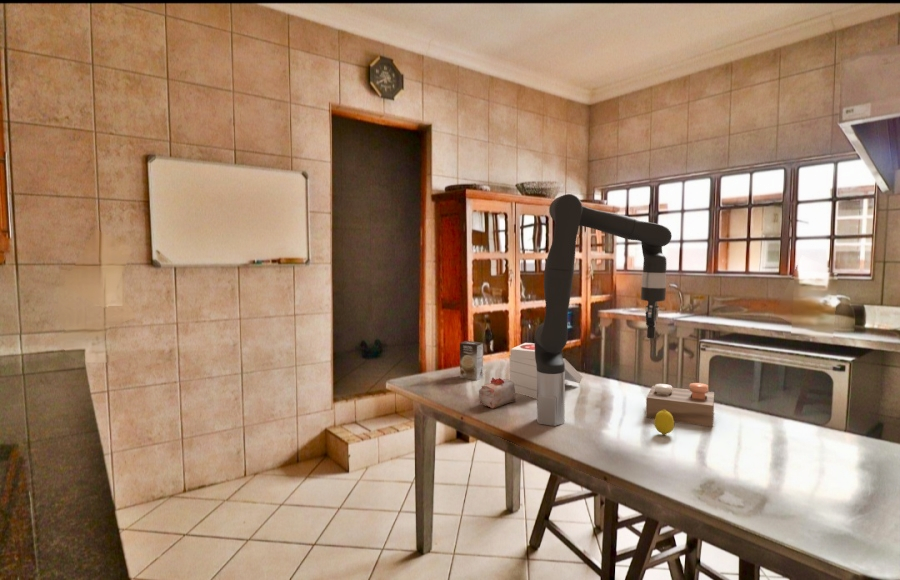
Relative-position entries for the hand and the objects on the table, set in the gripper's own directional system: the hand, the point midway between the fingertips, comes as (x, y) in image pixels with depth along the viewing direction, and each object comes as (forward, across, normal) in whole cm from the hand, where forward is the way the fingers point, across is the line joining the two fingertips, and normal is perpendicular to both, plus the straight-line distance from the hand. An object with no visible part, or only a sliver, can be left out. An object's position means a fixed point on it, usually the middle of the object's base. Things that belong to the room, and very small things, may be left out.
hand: (650, 337), depth 167 cm
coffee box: (+30, +22, +77) cm, 86 cm away
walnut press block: (+27, +8, -10) cm, 30 cm away
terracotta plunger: (+24, +8, -15) cm, 30 cm away
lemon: (+28, -14, -7) cm, 32 cm away
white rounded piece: (+26, +8, -4) cm, 28 cm away
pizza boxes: (+29, +19, +42) cm, 55 cm away
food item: (+30, -8, +52) cm, 60 cm away
